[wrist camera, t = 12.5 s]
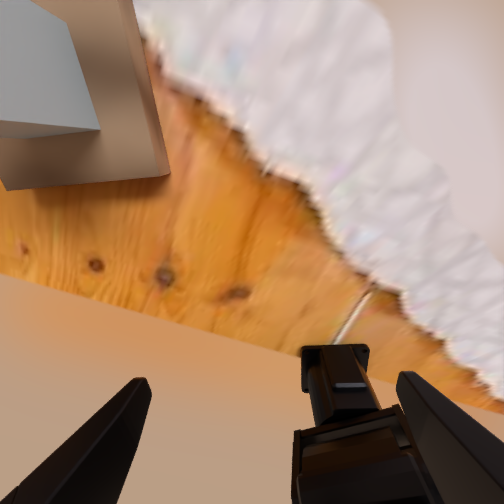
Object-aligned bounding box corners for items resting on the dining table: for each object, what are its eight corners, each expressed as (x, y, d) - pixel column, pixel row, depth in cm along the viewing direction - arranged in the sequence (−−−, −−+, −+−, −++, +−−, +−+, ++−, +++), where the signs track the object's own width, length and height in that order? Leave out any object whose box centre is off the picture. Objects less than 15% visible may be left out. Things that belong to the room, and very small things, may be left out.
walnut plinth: (170, 173, 17) (159, 176, 15) (32, 186, 18) (6, 190, 16) (123, -41, 13) (99, -71, 11) (-58, -9, 14) (-108, -33, 12)
